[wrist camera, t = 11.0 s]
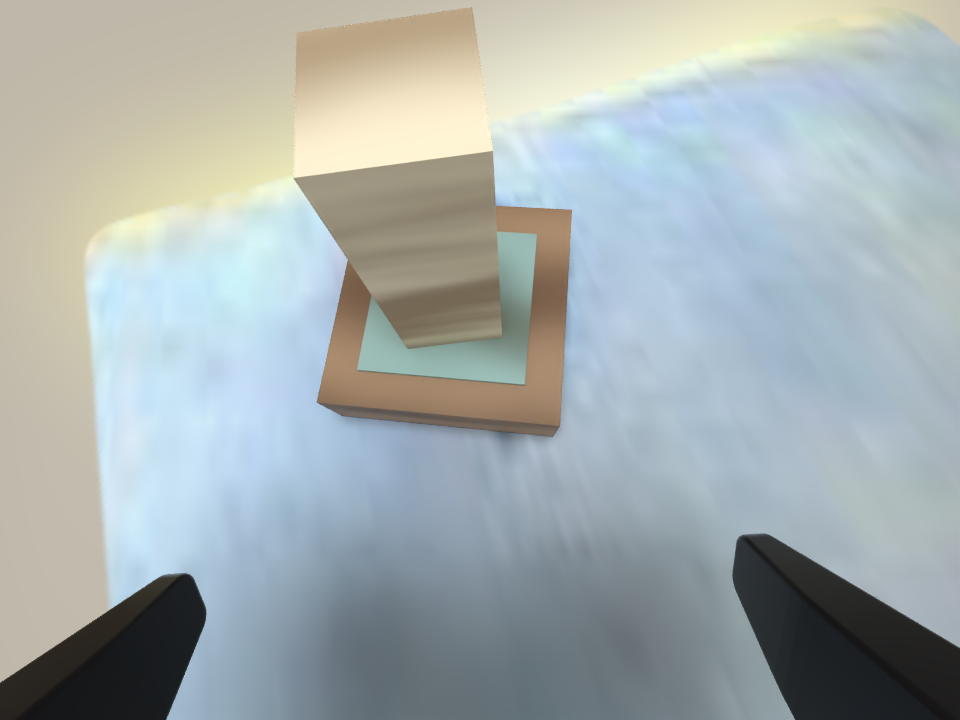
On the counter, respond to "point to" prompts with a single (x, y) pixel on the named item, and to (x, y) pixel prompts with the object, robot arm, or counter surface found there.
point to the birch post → (404, 168)
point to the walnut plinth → (465, 345)
